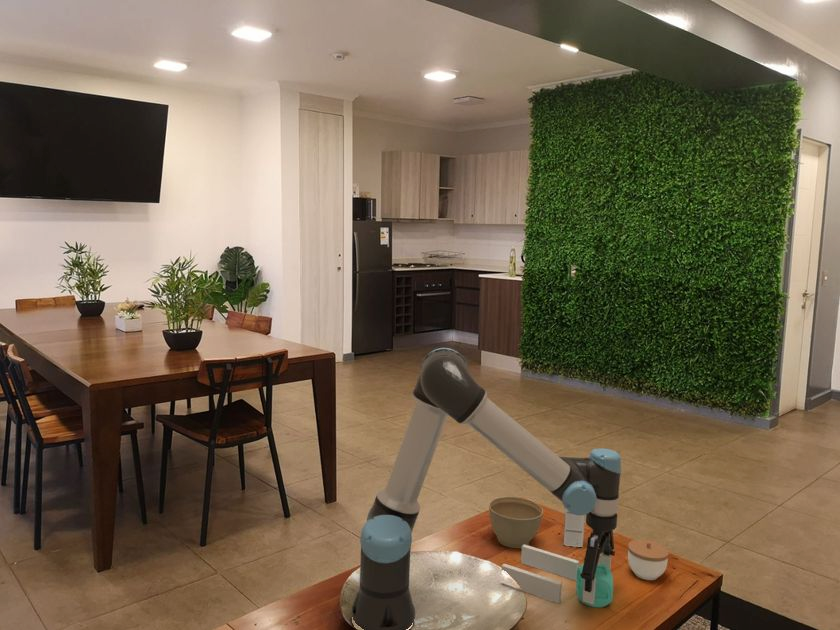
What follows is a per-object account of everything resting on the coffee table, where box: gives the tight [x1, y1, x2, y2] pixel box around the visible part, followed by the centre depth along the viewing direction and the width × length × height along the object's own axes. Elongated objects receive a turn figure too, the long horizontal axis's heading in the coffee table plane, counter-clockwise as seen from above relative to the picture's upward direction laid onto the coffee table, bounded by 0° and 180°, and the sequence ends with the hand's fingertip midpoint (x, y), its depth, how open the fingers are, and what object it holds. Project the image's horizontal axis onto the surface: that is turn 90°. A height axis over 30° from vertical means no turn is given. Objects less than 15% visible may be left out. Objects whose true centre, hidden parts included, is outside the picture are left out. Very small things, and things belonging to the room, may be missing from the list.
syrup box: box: [563, 507, 586, 548], centre depth 197 cm, size 6×6×14 cm
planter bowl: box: [488, 496, 544, 549], centre depth 196 cm, size 16×16×11 cm
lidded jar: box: [627, 539, 670, 581], centre depth 180 cm, size 11×11×9 cm
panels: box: [501, 544, 580, 604], centre depth 174 cm, size 16×15×5 cm
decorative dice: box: [575, 562, 614, 608], centre depth 167 cm, size 8×8×8 cm
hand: (596, 590), depth 167 cm, fingers open, 13 cm apart
